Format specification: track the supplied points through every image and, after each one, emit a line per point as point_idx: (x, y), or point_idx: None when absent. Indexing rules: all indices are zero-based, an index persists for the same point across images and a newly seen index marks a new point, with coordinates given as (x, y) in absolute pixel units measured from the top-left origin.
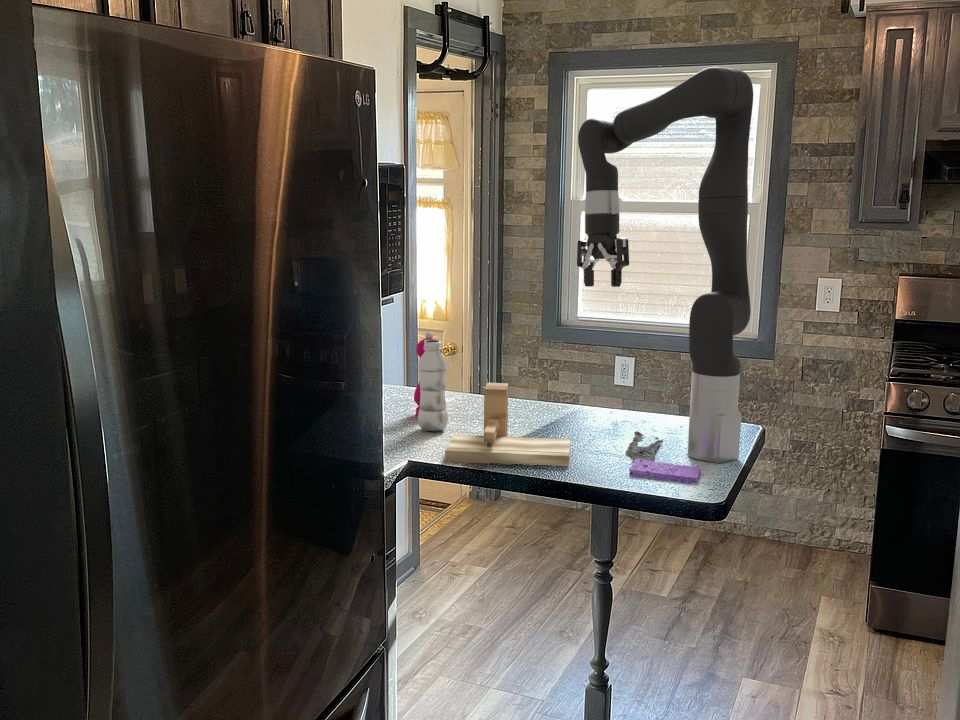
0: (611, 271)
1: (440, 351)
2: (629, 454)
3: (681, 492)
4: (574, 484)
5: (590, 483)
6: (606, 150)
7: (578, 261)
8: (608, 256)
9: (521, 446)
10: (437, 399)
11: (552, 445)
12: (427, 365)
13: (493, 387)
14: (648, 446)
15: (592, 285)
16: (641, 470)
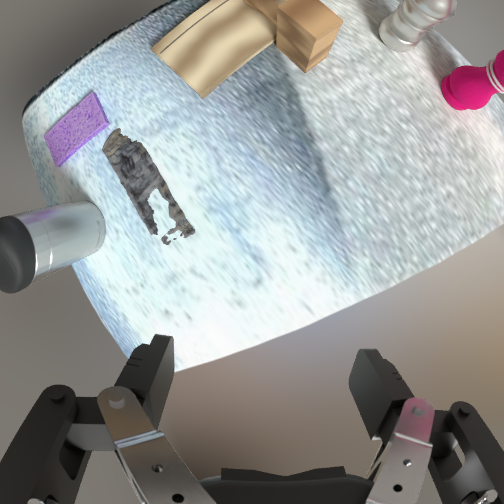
0: (149, 383)
1: (501, 73)
2: (135, 145)
3: (46, 106)
4: (118, 31)
5: (108, 45)
6: None
7: (472, 422)
8: (123, 450)
9: (219, 26)
10: (395, 11)
11: (194, 57)
12: None
13: (303, 3)
14: (144, 195)
15: (351, 378)
16: (82, 100)
